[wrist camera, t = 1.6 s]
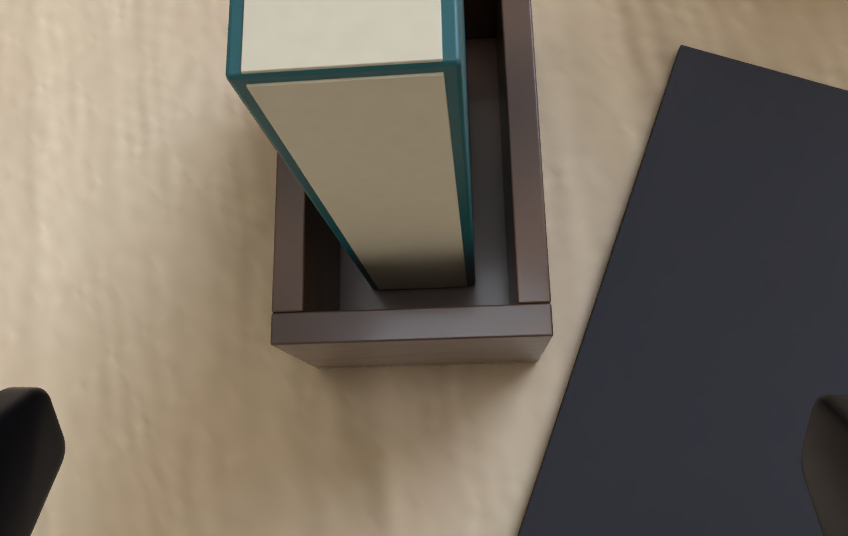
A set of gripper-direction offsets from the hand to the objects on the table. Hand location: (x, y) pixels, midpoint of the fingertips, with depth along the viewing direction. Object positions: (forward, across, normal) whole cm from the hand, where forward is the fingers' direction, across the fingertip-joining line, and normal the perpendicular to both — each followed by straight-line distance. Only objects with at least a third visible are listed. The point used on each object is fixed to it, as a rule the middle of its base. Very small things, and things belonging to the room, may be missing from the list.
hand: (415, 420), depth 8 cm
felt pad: (+11, -10, +8) cm, 16 cm away
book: (+15, +1, +2) cm, 15 cm away
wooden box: (+15, +1, +3) cm, 16 cm away
